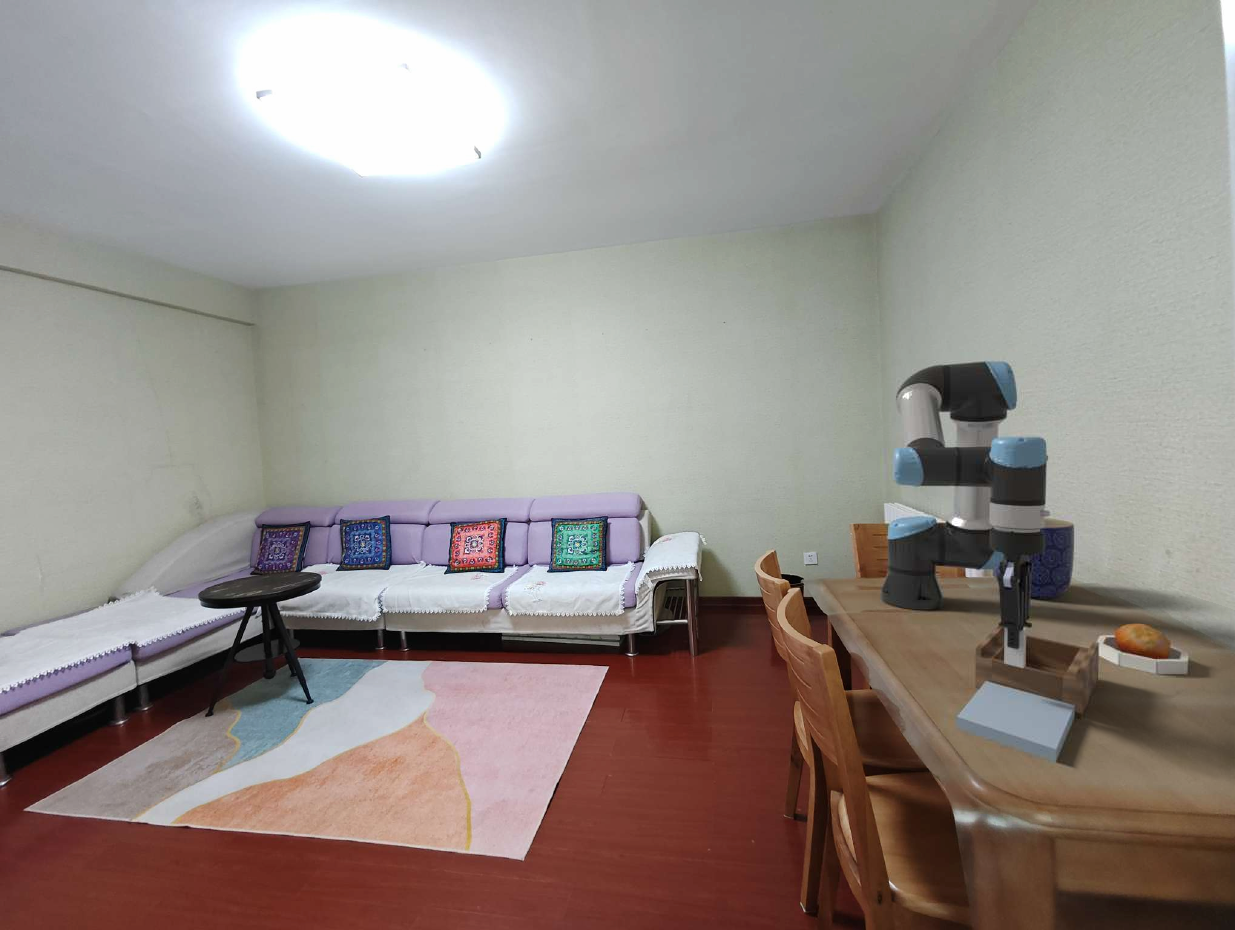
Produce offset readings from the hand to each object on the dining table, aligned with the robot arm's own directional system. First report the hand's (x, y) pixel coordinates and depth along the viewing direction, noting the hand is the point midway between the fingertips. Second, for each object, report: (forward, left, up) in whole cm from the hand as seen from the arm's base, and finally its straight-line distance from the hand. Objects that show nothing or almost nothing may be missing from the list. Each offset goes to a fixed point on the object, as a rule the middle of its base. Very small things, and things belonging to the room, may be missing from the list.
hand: (1014, 664), depth 91 cm
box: (+1, +12, -7) cm, 14 cm away
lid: (+2, -6, -8) cm, 10 cm away
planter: (-12, +77, -8) cm, 78 cm away
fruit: (+13, +39, -8) cm, 42 cm away
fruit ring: (+13, +39, -7) cm, 42 cm away
